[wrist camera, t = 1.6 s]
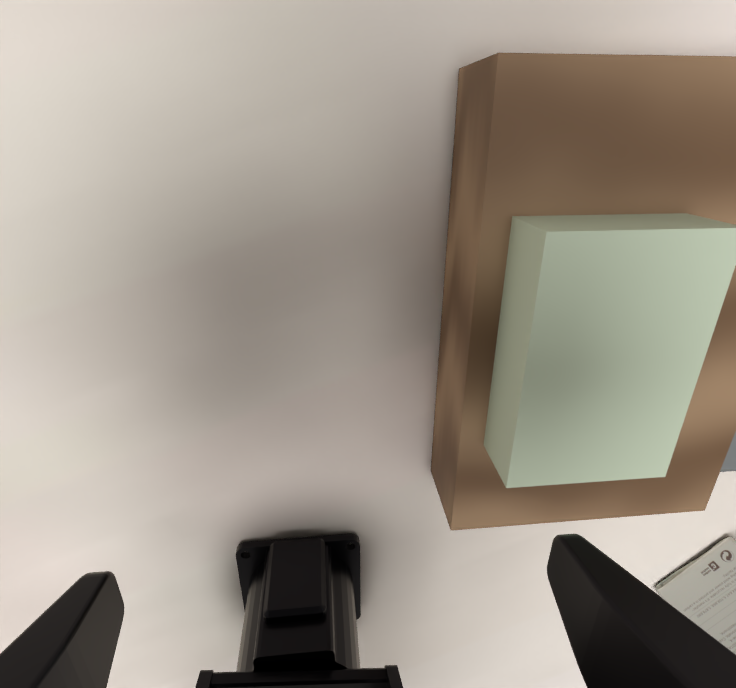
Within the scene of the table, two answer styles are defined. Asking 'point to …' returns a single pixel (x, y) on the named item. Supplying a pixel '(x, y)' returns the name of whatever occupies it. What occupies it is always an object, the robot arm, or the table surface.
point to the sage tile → (602, 343)
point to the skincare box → (707, 592)
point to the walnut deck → (577, 197)
